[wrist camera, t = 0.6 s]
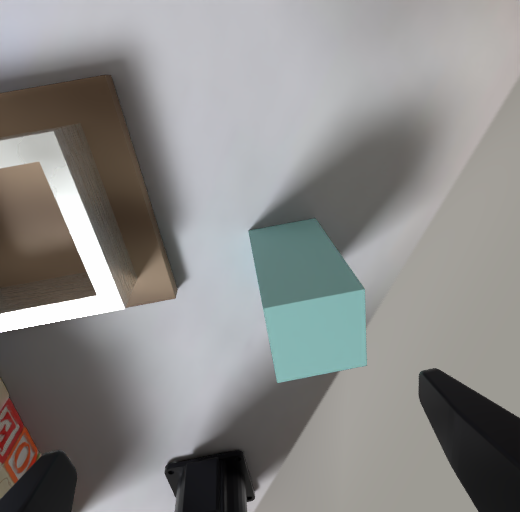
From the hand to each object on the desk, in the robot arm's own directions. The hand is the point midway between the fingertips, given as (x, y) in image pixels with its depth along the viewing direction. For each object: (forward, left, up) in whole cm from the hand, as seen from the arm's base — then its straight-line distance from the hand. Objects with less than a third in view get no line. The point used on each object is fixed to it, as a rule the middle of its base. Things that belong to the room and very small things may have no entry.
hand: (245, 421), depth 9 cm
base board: (+3, +10, -13) cm, 17 cm away
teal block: (-2, -3, -13) cm, 14 cm away
